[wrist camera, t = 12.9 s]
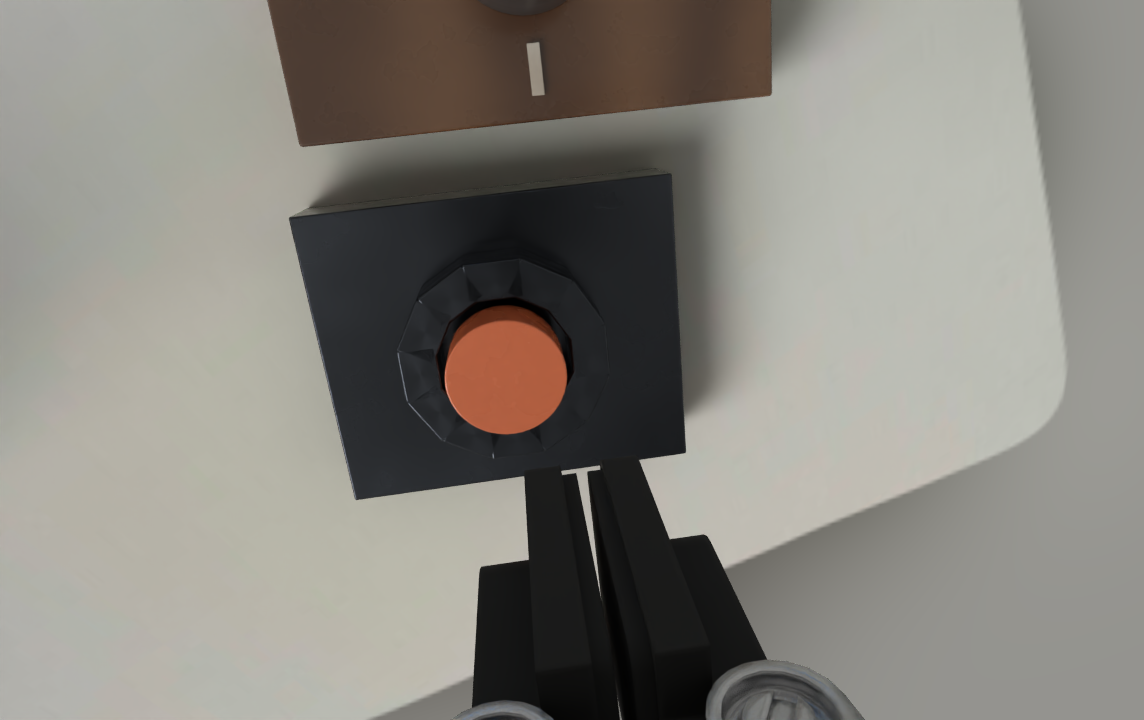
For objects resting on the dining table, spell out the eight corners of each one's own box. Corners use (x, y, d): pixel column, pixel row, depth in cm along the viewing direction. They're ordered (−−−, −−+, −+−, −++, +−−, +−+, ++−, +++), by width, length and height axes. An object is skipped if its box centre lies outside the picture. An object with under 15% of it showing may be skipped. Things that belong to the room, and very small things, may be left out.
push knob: (555, 298, 22) (560, 312, 20) (567, 403, 23) (572, 426, 22) (439, 312, 22) (434, 328, 20) (457, 418, 23) (455, 442, 21)
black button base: (656, 168, 24) (686, 178, 21) (672, 428, 28) (699, 477, 24) (305, 208, 24) (270, 226, 20) (365, 471, 27) (344, 529, 23)
